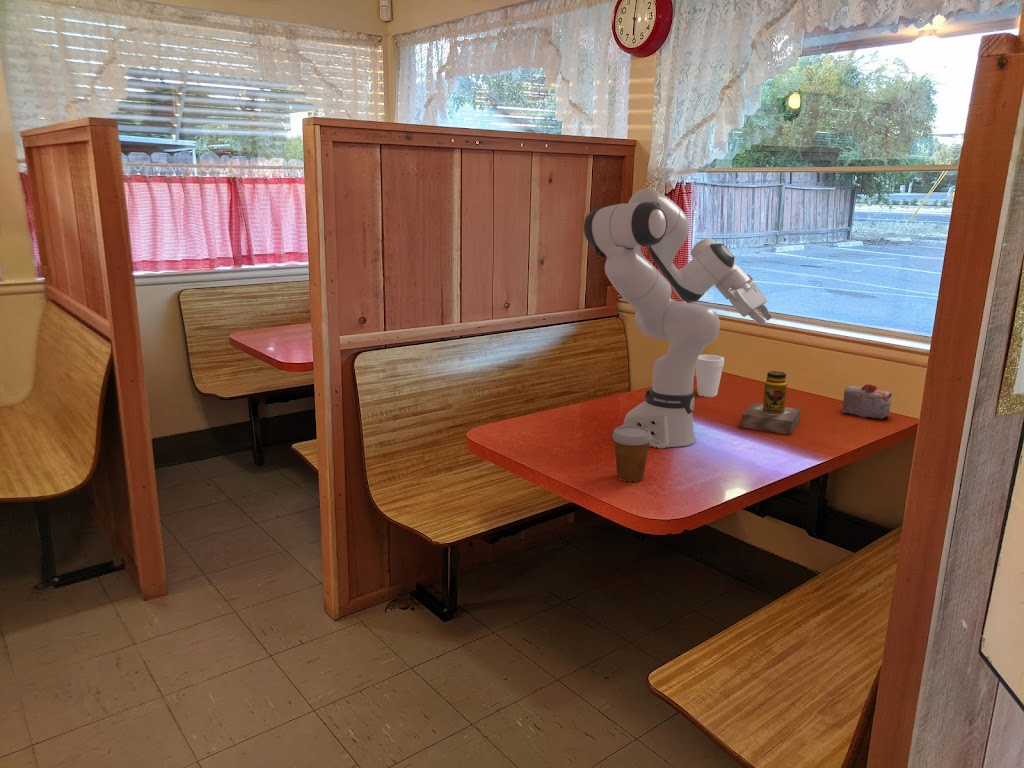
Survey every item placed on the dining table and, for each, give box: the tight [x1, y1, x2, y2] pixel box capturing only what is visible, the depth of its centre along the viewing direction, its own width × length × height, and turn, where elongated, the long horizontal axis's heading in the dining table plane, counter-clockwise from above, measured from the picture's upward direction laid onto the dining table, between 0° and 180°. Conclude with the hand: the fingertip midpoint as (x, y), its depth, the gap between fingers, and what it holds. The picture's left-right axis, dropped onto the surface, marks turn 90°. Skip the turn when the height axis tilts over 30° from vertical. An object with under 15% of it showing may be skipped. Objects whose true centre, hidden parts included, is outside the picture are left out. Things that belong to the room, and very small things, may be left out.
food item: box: [841, 383, 894, 420], centre depth 232 cm, size 14×8×10 cm, turn 53°
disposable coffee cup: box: [611, 425, 652, 483], centre depth 182 cm, size 10×10×12 cm
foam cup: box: [695, 354, 725, 398], centre depth 255 cm, size 10×9×13 cm
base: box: [741, 402, 802, 436], centre depth 224 cm, size 14×14×4 cm
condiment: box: [755, 370, 790, 415], centre depth 222 cm, size 7×8×12 cm
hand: (766, 321), depth 216 cm, fingers open, 8 cm apart
